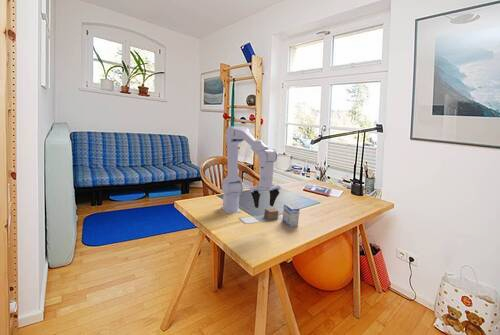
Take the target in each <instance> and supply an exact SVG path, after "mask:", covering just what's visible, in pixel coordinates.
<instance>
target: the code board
mask: <svg viewBox="0 0 500 335" xmlns="http://www.w3.org/2000/svg"><path fill="white" fill-rule="evenodd" d="M237 219H238V220H239V221H240V222H242V223H243V225H249V224H256V223H263V222H270V221H272V222H273V221H279V220H282V219H283V217H280V215H278V218H277V219H270V220H269V219H268V218H266V217H265V216H264V214H261V215H260V214H259V215H253V216H252V215H251V216H244V217H242V216H241V217H237Z"/></svg>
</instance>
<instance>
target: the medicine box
mask: <svg viewBox="0 0 500 335" xmlns="http://www.w3.org/2000/svg"><path fill="white" fill-rule="evenodd" d="M299 219H300V209H299V207H297V206H295V205H294V204H292V203H284V204H283V212H282V219H281V221H282V222H283V223H285V224H286V225H287V226H289V227H290V228H291V227H298V226H299V222H300V221H299Z"/></svg>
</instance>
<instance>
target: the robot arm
mask: <svg viewBox="0 0 500 335" xmlns="http://www.w3.org/2000/svg"><path fill="white" fill-rule="evenodd" d="M243 141H245V142H246V143H247V144H248V145H250V149H251V151H252V152H253V153H254V154H255V155H256V156H257V159H258V162H259V163H258V164H259V167H260V169H259V183H258V185H255V186H249V192H250V194H251V196H252V199H253V204H254V208H256V209H258V208H259V204H260V197H261V194H260V192H269V206H270V207H274V205H275V202H276V200H277V198H278V196H279V195H280V191H281V185H278V184H276V185H275V184H274V185H273V178H274V167H275V164H274V163H275V162H276V161H277V160H278V153H277V151H276V150H275V149H273V148H269V146H268V145H266V144H264V142H263V140H262V139H256V138H255V137H254V136H253V135H252V133H250V129H249V128H248V127H247V126H231V125H229V126H228V127H227V129H226V130H225V143H226V148H227V151H226V152H227V154H226V156H227V159H226V160H227V176H226V177H225V178H224V179H223V180H222V186H221V190H222V193H223V196H222V206H221V207H220V209H222V210H223V211H224V212H225V213H226V214H235V213H241V212H242V210H240V209H239V206H240V204H239V203H240V195H241V193H243V191H244V185H243V179H242V178H241V177H240V176H239V166H238V165H239V161H238V160H239V159H238V156H239V155H238V154H239V153H238V147H239V145H240V144H241V143H242V142H243Z"/></svg>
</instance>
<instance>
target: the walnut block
mask: <svg viewBox="0 0 500 335" xmlns="http://www.w3.org/2000/svg"><path fill="white" fill-rule="evenodd" d="M263 215H264V216H265V217H266V218H268V219H269V220H270V219H277V218H278V216H279V210H278V209H276V208H275V207H267V208H264V214H263Z"/></svg>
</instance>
